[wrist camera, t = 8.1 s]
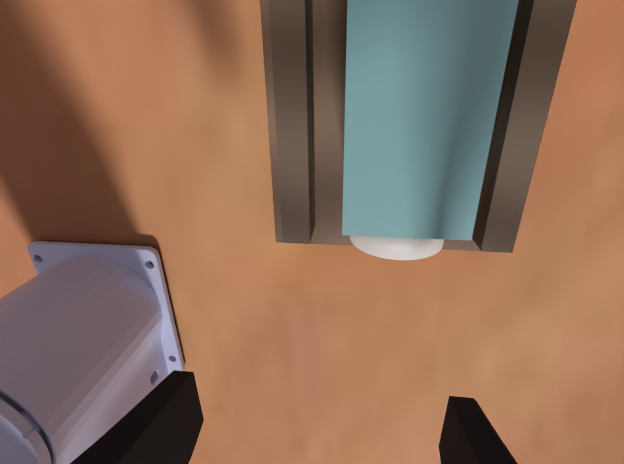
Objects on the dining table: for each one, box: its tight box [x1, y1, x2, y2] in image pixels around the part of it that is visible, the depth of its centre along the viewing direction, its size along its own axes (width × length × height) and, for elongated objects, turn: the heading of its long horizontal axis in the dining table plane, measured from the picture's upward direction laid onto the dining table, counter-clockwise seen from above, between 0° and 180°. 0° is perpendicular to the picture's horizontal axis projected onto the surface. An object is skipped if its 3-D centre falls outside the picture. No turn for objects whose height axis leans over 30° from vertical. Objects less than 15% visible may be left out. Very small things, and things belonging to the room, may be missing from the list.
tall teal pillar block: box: [342, 0, 519, 260], centre depth 11 cm, size 12×4×5 cm, turn 1°
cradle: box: [260, 0, 577, 253], centre depth 13 cm, size 16×11×3 cm
